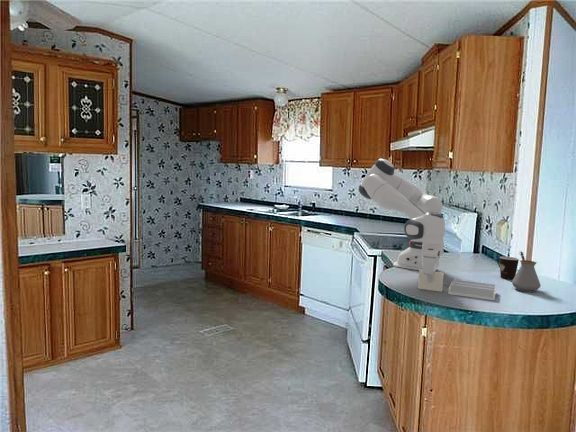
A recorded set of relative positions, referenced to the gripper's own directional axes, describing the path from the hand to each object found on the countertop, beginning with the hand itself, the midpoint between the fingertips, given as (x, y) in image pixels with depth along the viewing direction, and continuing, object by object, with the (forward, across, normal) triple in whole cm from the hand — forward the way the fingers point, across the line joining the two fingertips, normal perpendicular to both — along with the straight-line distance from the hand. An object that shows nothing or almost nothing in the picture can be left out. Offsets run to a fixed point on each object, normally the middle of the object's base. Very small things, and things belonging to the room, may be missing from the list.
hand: (430, 281), depth 205 cm
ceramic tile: (+4, 0, 0) cm, 4 cm away
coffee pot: (+4, -28, +37) cm, 47 cm away
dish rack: (+4, -3, +17) cm, 18 cm away
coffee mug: (+4, -46, +30) cm, 55 cm away
